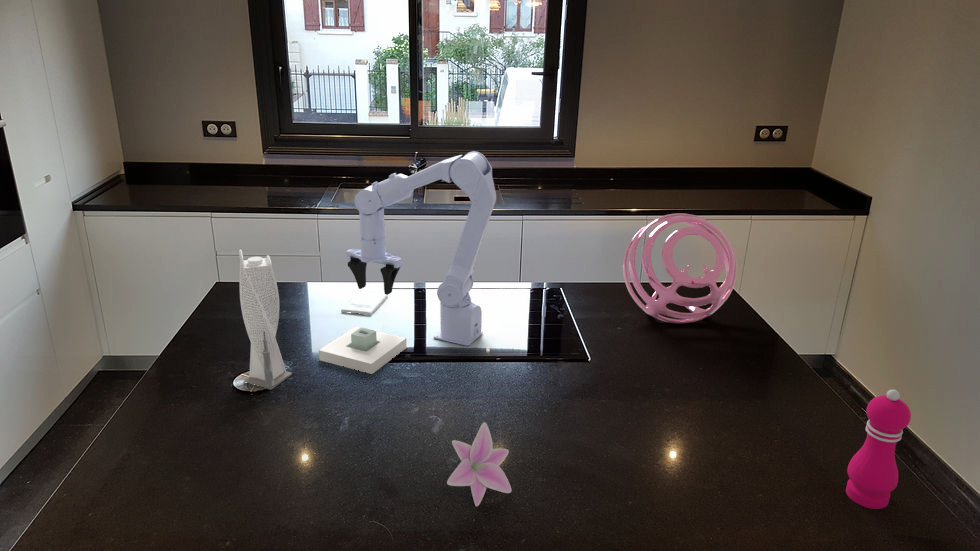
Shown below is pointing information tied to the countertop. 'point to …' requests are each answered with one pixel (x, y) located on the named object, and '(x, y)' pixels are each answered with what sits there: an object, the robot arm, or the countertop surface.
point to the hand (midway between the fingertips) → (375, 290)
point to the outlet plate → (362, 352)
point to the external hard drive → (365, 303)
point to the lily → (480, 466)
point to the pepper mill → (878, 452)
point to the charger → (363, 339)
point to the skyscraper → (261, 321)
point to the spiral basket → (680, 277)
